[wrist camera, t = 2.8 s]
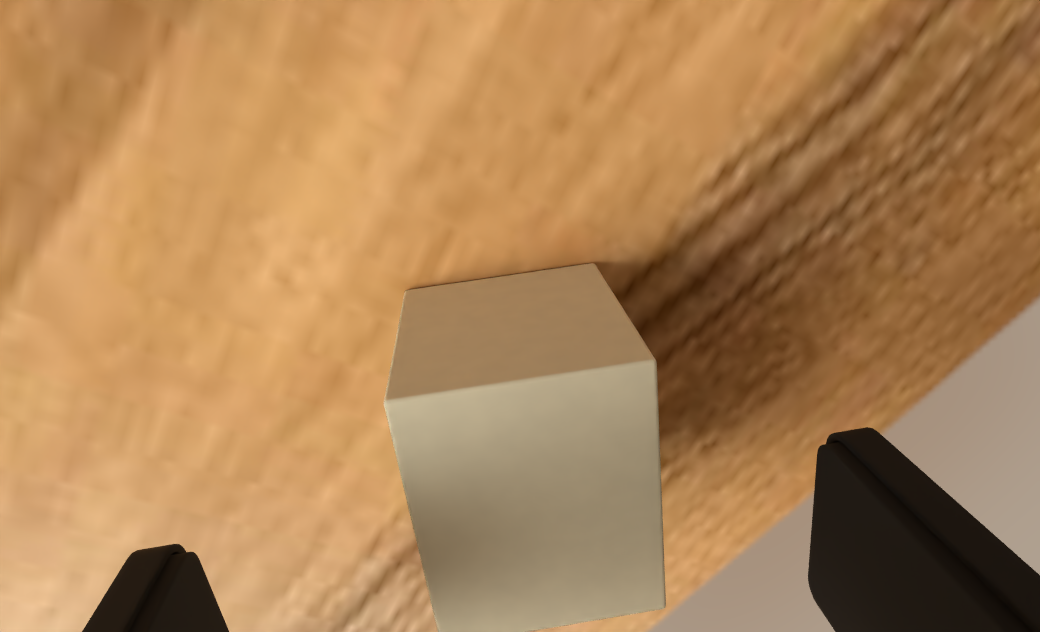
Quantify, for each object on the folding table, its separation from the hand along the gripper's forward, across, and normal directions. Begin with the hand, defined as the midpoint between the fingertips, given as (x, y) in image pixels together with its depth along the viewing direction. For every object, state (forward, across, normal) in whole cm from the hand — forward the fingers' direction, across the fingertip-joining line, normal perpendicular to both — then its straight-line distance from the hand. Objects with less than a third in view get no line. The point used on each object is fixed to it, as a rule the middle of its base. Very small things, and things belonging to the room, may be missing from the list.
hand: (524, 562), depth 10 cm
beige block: (+5, 0, 0) cm, 5 cm away
